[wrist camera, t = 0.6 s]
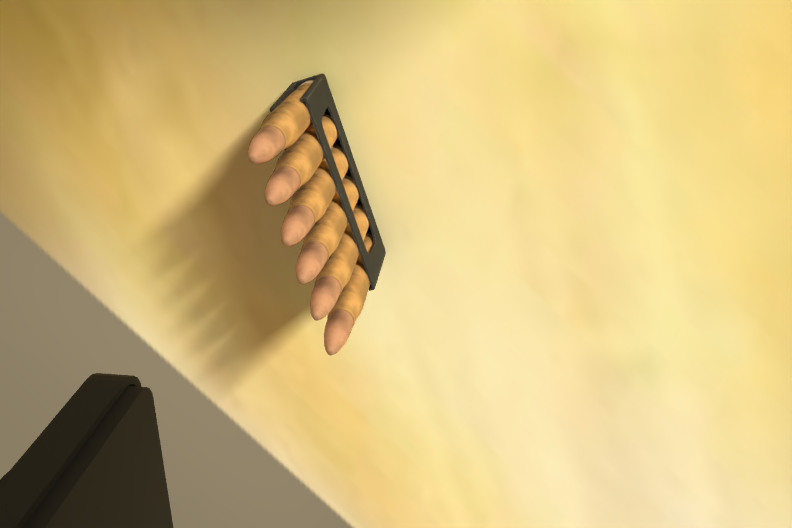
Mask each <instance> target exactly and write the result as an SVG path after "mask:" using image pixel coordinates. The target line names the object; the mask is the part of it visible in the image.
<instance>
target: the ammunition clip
mask: <svg viewBox="0 0 792 528" xmlns="http://www.w3.org/2000/svg"><path fill="white" fill-rule="evenodd" d="M270 112H271V113H270V114H269V115H268V116H267V117H266V119H265V120H264V121H263V124H262V127H261V129H260V130H259V131H258V133H257V134H256V135H255V136H254V137H253V139H252V141H251V143H250V146H249V149H248V158H249V160H250V161H251V162H252V163H255V164H260V163H265V162H267V161H269V160H271V159H273V158H274V157H276V156H277V155H278V154H279V153H280V152H282V151H283V150H284V149H285V152H284V153H283V154H282V155H281V157H280V158H279V160H278V162H277V165H276V169H275V170H274V172H273V174H272V176H271V177H270V179H269V181H268V183H267V186H266V189H265V201H266V203H267V204H268V205H270V206H276V205H279V204H281V203H283V202H285V201H287V200H288V199H289V198H290V197H291V196H292V195H293V194H294V193H295V194H294V195H293V197H292V200H291V204H290V208H289V211H288V213H287V215H286V217H285V219H284V222H283V225H282V229H281V240H282V243H283V244H284V245H285V246H292V245H294V244H296V243H298V242H300V241H301V240H302V239H303V238H304V244H303V247H302V249H301V252H300V255H299V257H298V260H297V264H296V277H297V280H298V282H299V283H300V284H306V283H308V282H310V281H311V280H313V279H314V278H315V277H316V276H317V279H316V282H315V287H314V289H313V292H312V295H311V302H310V309H311V315H312V317H313V319H314V320H320V319H322V318H324V317H325V316H326V315H327V314H328V313H329V314H328V320H327V323H326V326H325V332H324V345H325V349H326V352H327V353H328V355H333V354H335V353H337V352H338V351H339V350H340V349H341V348H342V347H343V345H344V344H345V343H346V341H347V339H348V337H349V335H350V333H351V330H352V328H353V325H354V323H355V321H356V319H357V317H358V316H359V315H360V313H361V311H362V309H363V306H364V302H365V299H366V296H367V292H368V289H369V291H370V290H374V289H375V286H376V283H377V280H378V276H379V273H380V270H381V266H382V263H383V260H384V257H385V248H384V245H383V242H382V239H381V237H380V234H379V231H378V228H377V225H376V222H375V219H374V216H373V213H372V210H371V208H370V205H369V202H368V199H367V196H366V193H365V190H364V187H363V184H362V181H361V178H360V176H359V173H358V170H357V167H356V164H355V161H354V158H353V155H352V152H351V149H350V147H349V144H348V141H347V138H346V135H345V132H344V129H343V126H342V123H341V120H340V118H339V115H338V112H337V109H336V106H335V103H334V100H333V97H332V94H331V91H330V89H329V86H328V83H327V80H326V77H325V75H324V74H319V75H316V76H313V77H310V78H306V79H303V80H300V81H297V82H294V83H292V84H291V85H290V86H289V88H288V89H287V90H286V91H285V92H284V93H283V94H282V96H281V97H280V98H279V99H278V100H277V101H276V102H275V104H274V105H273V106H272V107H271V108H270ZM369 285H370V286H369Z"/></svg>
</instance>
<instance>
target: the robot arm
mask: <svg viewBox="0 0 792 528" xmlns="http://www.w3.org/2000/svg"><path fill="white" fill-rule="evenodd" d="M0 528H173V523H172V516H171V510H170V504H169V497H168V490H167V484H166V478H165V471H164V465H163V458H162V452H161V445H160V439H159V432H158V426H157V419H156V413H155V407H154V400H153V395H152V392H151V390H150V389H149V388H147V387H141V383H140V381H139V379H138V378H137V377H135V376H128V375H115V374H101V373H96V374H92V375H91V376H90V377H89V378H87V380H86V381H85V382H84V383H83V384H82V386H81V387H80V388H79V389H78V390H77V391H76V393H75V394H74V395H73V396H72V397H71V399H70V400H69V401H68V402H67V403H66V405H65V406H64V407H63V408H62V409H61V410H60V412H59V413H58V414H57V415H56V416H55V418H54V419H53V420H52V421H51V422H50V424H49V425H48V426H47V427H46V428H45V430H44V431H43V432H42V433H41V434H40V436H39V437H38V438H37V439H36V440H35V441H34V443H33V444H32V445H31V446H30V448H28V450H27V451H26V452H25V453H24V455H23V456H22V457H21V458H20V459H19V460H18V462H17V463H16V464H15V465H14V466H13V468H12V469H11V470H10V471H9V472H8V473H7V474H6V475H4V476H3V477H2V479H1V480H0Z"/></svg>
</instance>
